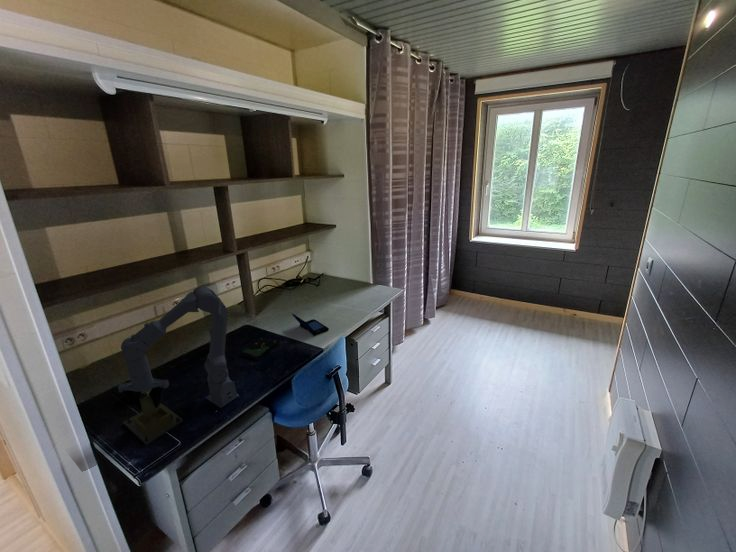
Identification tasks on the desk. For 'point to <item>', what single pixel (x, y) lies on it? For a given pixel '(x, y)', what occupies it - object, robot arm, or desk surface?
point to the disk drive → (260, 348)
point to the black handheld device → (312, 326)
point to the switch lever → (147, 404)
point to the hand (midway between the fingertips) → (149, 406)
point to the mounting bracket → (152, 424)
